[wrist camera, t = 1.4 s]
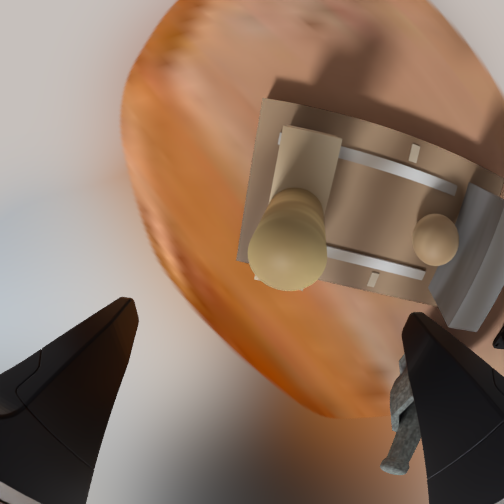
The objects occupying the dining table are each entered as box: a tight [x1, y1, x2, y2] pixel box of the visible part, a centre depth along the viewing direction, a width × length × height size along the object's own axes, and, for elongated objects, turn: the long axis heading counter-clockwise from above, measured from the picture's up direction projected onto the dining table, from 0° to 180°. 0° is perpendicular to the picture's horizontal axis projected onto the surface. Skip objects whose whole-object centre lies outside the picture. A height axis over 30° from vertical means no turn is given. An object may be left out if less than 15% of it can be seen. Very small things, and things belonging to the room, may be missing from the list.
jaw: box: [248, 125, 342, 291], centre depth 15 cm, size 3×9×9 cm, turn 172°
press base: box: [236, 98, 504, 332], centre depth 17 cm, size 19×12×6 cm, turn 82°
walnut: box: [412, 214, 459, 266], centre depth 16 cm, size 4×4×4 cm
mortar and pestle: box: [380, 354, 421, 475], centre depth 20 cm, size 11×9×12 cm
